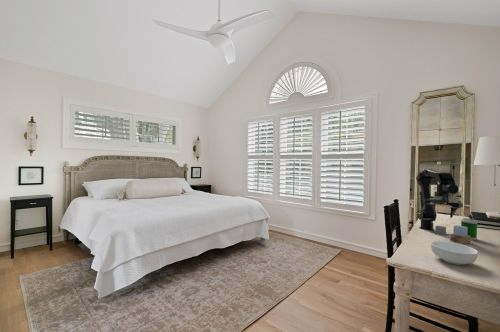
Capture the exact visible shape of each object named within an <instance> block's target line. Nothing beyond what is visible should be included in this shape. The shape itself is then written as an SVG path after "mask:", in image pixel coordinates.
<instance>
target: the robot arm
mask: <svg viewBox="0 0 500 332" xmlns="http://www.w3.org/2000/svg"><path fill="white" fill-rule="evenodd" d="M434 178H435V179H434ZM415 179H416V182H417V185H418V186H419V187H420V191H421V199H422V208H421V209H420V211H421V212H420V213H419V215H418V216H417V217H418V220H420V226H419V229H422V230H427V231H432V230H434V226H435V225H434V222H436V220H437V216H438V215H437V212H436V210H437V209H436V206H437V205H445V206H450V207H449V208H450V214H449V215H450V216H449V217H450V219H452V218H453V216H454V215H455V213H456V212H457V211H458V210H459V209H461V208H464V203H462V202H461V201H460V202H458V201H452V202H450V199H449V197H450V195H456V194H458V192H459V191H460V188H459V186H458V185H456V182H455V178H454V177H453V175H452V173H451V172H443V171H442V172H440V171H438V170H434V169H432V168H426V169H424V170H422V171H420V172H419V173H418V174H417V175H416V178H415ZM433 179H434V180H435V181H437V182H436V183H435V184H436V185H437V192H436V194H435V196H433V197H432V198H431V193H430V186H431V184H432V180H433Z"/></svg>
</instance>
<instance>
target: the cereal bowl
mask: <svg viewBox="0 0 500 332" xmlns="http://www.w3.org/2000/svg"><path fill="white" fill-rule="evenodd" d="M430 245H431V246H430V248H431V251H432V253H433V254H434V255H435V256H436V257H438V258H439V259H441V260H443V262H446V263H449V264H451V265H452V264H453V265H457V266H463V265H468V264H469V265H471V264H472V263H475V262H476V261H477V259H478V257H479V251H478V250H476V249H475V248H473V247H471V246H468V245H466V244H462V243H458V242H454V241H447V240H446V241H444V240H435V241H432V242H431V243H430Z"/></svg>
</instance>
